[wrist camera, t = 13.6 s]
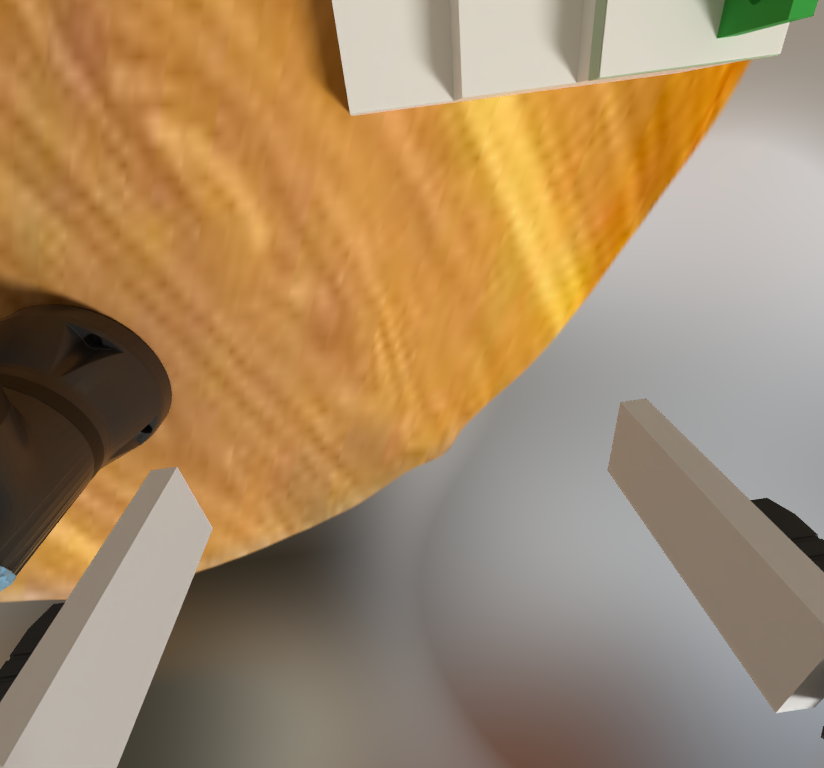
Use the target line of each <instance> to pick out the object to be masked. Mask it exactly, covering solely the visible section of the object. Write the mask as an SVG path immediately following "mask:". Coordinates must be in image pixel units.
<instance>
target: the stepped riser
mask: <svg viewBox="0 0 824 768" xmlns="http://www.w3.org/2000/svg"><path fill="white" fill-rule="evenodd" d="M724 2H725V0H332V5H333V11H334V17H335V24H336V30H337V36H338V42H339V49H340V55H341V61H342V67H343V73H344V80H345V86H346V92H347V98H348V104H349V111H350V115H352V116H356V115H363V114H371V113H378V112H386V111H394V110H401V109H409V108H416V107H424V106H432V105H439V104H447V103H454V102H462V101H469V100H477V99H485V98H492V97H500V96H507V95H515V94H523V93H530V92H538V91H545V90H553V89H560V88H568V87H576V86H583V85H591V84H598V83H606V82H614V81H621V80H629V79H636V78H644V77H651V76H659V75H667V74H674V73H680V72H686V71H691V70H696V69H701V68H707V67H712V66H717V65H723V64H728V63H733V62H738V61H744V60H752V59H759V58H765V57H770V56H776V55H780V53H781V50H782V47H783V43H784V40H785V36H786V33H787V29H788V26H789V22H788V23H784V24H780V25H776V26H773V27H769V28H765V29H761V30H757V31H753V32H750V33H746V34H742V35H738V36H731V37H724V38H717V35H718V30H719V26H720V21H721V16H722V12H723V7H724Z"/></svg>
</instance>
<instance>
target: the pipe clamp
mask: <svg viewBox="0 0 824 768" xmlns="http://www.w3.org/2000/svg"><path fill="white" fill-rule="evenodd" d="M817 2H818V0H725V2H724V7H723V12H722V16H721V21H720V26H719V30H718V35H717V38H724V37H731V36H738V35H742V34H746V33H750V32H753V31H757V30H761V29H765V28H769V27H773V26H776V25H780V24H784V23H788V22H792V21H796V20H800V19H803V18H807V17H811V16H813V15H814V11H815V8H816V5H817Z"/></svg>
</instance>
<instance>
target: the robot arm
mask: <svg viewBox="0 0 824 768" xmlns="http://www.w3.org/2000/svg"><path fill="white" fill-rule="evenodd" d="M171 399H172V392H171V385H170V381H169V378H168V375H167V373H166V371H165V369H164V367H163V365H162V363H161V362H160V360H159V359H158V357H157V356H156V355H155V353H154V352H153V351H152V350H151V349H150V348H149V347H148V346H147V345H146V344H145V343H144V342H143V341H142V340H141V339H140V338H139V337H138V336H136V335H135V334H134V333H132V332H131V331H130V330H128V329H127V328H125V327H124V326H122V325H120V324H119V323H117V322H115V321H113V320H111V319H109V318H107V317H105V316H103V315H100V314H98V313H95V312H92V311H89V310H85V309H82V308H77V307H72V306H66V305H38V306H33V307H29V308H25V309H22V310H20V311H18V312H16V313H14V314H12V315H10V316H8V317H6V318H4V319H2V320H0V592H1V591H2V589H4V588H6V587H8V586H9V585H11V584H12V583H13V581H14V580H15V578H16V575H17V574H18V573H19V572H20V570H21V569H22V568H23V566H24V565H25V564H26V563H27V561H28V560H29V559H30V558H31V556H32V555H33V554H34V552H35V551H36V550H37V549H38V547H39V546H40V545H41V543H42V542H43V541H44V540H45V538H46V537H47V536H48V535H49V533H50V532H51V531H52V529H53V528H54V527H55V526H56V524H57V523H58V522H59V520H60V519H61V518H62V517H63V515H64V514H65V513H66V512H67V510H68V509H69V508H70V506H71V505H72V504H73V503H74V501H75V500H76V499H77V497H78V496H79V495H80V494H81V492H82V491H83V490H84V488H85V487H86V486H87V485H88V483H89V482H90V481H91V479H92V478H93V477H94V476H95V475H96V473H97V472H98V471H99V470H100V469H101V468H103V467H104V466H106V465H108V464H109V463H111V462H113V461H114V460H116V459H118V458H119V457H121V456H123V455H124V454H126V453H128V452H129V451H131V450H133V449H134V448H136V447H138V446H139V445H141V444H142V443H144V442H145V441H146V440H148V439H149V438H150V437H151V436H152V435H153V434H154V433H155V431H156V430H157V429H158V427H159V426H160V425H161V423H162V422H163V421H164V419H165V418H166V416H167V414H168V412H169V409H170V406H171ZM608 471H609V473H610V474H611V476H612V477H613V479H614V480H615V482H616V483H617V485H618V486H619V487H620V489H621V490H622V492H623V493H624V495H625V496H626V497H627V499H628V500H629V501H630V503H631V505H632V506H633V508H634V509H635V511H636V512H637V513H638V515H639V516H640V518H641V519H642V520H643V522H644V524H645V525H646V526H647V528H648V529H649V531H650V532H651V534H652V535H653V537H654V538H655V539H656V541H657V542H658V544H659V545H660V547H661V548H662V549H663V551H664V552H665V554H666V555H667V557H668V558H669V559H670V561H671V562H672V564H673V565H674V567H675V568H676V570H677V571H678V573H679V574H680V575H681V577H682V578H683V580H684V581H685V583H686V584H687V586H688V587H689V588H690V590H691V591H692V593H693V594H694V596H695V597H696V599H697V600H698V602H699V603H700V604H701V606H702V607H703V608H704V610H705V612H706V613H707V614H708V616H709V617H710V619H711V620H712V622H713V623H714V625H715V626H716V628H717V629H718V630H719V632H720V633H721V635H722V636H723V637H724V639H725V641H726V642H727V643H728V645H729V646H730V648H731V649H732V651H733V652H734V654H735V655H736V656H737V658H738V659H739V661H740V662H741V664H742V665H743V666H744V668H745V669H746V671H747V672H748V674H749V675H750V677H751V678H752V680H753V681H754V682H755V684H756V685H757V687H758V688H759V690H760V691H761V693H762V694H763V695H764V697H765V698H766V700H767V701H768V702H769V704H770V706H771V707H772V708H773V710H774V711H775V712H776V713H779V712H786V711H792V710H799V709H805V708H812V707H815V706H816V705H817V704H818V703H819V702H820V701H821V700H822V699H823V698H824V540H823V539H819V538H818V535H817V534H816V533H815V532H814V531H813V530H812V529H811V528H810V527H809V526H807V525H806V524H805V523H804V522H803V521H802V520H801V519H800V518H799V517H797V516H796V515H795V514H794V513H792V512H790V511H789V510H787V509H785V508H783V507H782V506H780V505H778V504H777V503H775V502H773V501H771V500H770V499H768V498H763V499H756V500H749V499H748V498H747V497H746V496H745V495H744V494H743V493H742V492H741V491H740V490H739V489H738V488H737V487H736V486H735V485H734V484H733V483H732V482H731V481H730V480H729V479H728V478H727V477H726V476H725V475H724V474H723V473H722V472H721V471H719V469H718V468H716V467H715V465H714V464H713V463H712V462H711V461H709V460H708V459H707V458H706V457H705V456H704V455H703V454H702V453H701V452H700V451H699V450H698V449H697V448H696V447H695V446H694V445H693V444H692V443H691V442H690V441H689V440H688V439H687V438H686V437H685V436H684V435H683V434H682V433H681V432H680V431H679V430H678V429H677V428H676V427H675V426H674V425H673V424H672V423H671V422H670V421H669V420H668V419H667V418H665V416H664V415H663V414H662V413H660V412H659V411H658V410H657V409H656V408H655V407H654V406H653V405H652V404H651V403H650V402H649V401H648V400H647V399H640V400H633V401H626V402H621V403H620V409H619V413H618V418H617V424H616V429H615V435H614V440H613V445H612V451H611V455H610V461H609V466H608ZM212 529H213V528H212V526H211V524H210V523H209V521H208V519H207V518H206V516H205V514H204V512H203V511H202V509H201V507H200V505H199V504H198V502H197V500H196V499H195V497H194V495H193V493H192V492H191V490H190V488H189V486H188V485H187V483H186V481H185V479H184V478H183V476H182V474H181V473H180V471H179V469H178V467H172V468H165V469H158V470H151V471H150V473H149V474H148V476H147V477H146V479H145V481H144V482H143V484H142V485H141V487H140V488H139V490H138V491H137V493H136V494H135V496H134V497H133V499H132V500H131V502H130V504H129V505H128V507H127V508H126V510H125V511H124V513H123V514H122V516H121V517H120V519H119V520H118V522H117V524H116V525H115V527H114V528H113V530H112V531H111V533H110V534H109V536H108V537H107V539H106V540H105V542H104V544H103V545H102V547H101V548H100V550H99V551H98V553H97V554H96V556H95V557H94V559H93V560H92V562H91V564H90V565H89V567H88V568H87V570H86V571H85V573H84V574H83V576H82V577H81V579H80V580H79V582H78V584H77V585H76V587H75V588H74V590H73V591H72V593H71V594H70V596H69V597H68V599H67V600H66V602H65V603H59V604H53V605H52V606H51V607H50V608H49V609H48V610H47V611H46V612H45V613H44V614H43V615H42V616H41V617H40V618H39V619H38V620H37V621H36V622H35V623H34V624H33V625H32V626H31V627H30V628H29V629H28V630H27V632H26V633H25V635H24V636H23V637H22V639H21V640H20V642H19V643H18V645H17V646H16V648H15V649H14V651H13V652H12V653H11V655H10V660H9V661H6V662H5V664H4V665H3V666H2V668H1V669H0V768H117V765H118V763H119V760H120V758H121V755H122V753H123V751H124V748H125V746H126V743H127V741H128V738H129V735H130V733H131V730H132V728H133V726H134V723H135V721H136V718H137V715H138V713H139V711H140V708H141V706H142V703H143V701H144V698H145V696H146V693H147V691H148V688H149V686H150V683H151V680H152V678H153V676H154V673H155V671H156V668H157V666H158V663H159V661H160V658H161V655H162V653H163V651H164V648H165V646H166V643H167V641H168V638H169V635H170V633H171V631H172V628H173V626H174V623H175V621H176V618H177V616H178V613H179V611H180V608H181V606H182V603H183V601H184V598H185V596H186V593H187V591H188V588H189V586H190V583H191V581H192V579H193V576H194V574H195V571H196V569H197V566H198V564H199V561H200V559H201V556H202V554H203V551H204V549H205V546H206V544H207V541H208V539H209V536H210V534H211V531H212ZM821 738H823V739H824V726H823V730H822V735H821Z"/></svg>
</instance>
